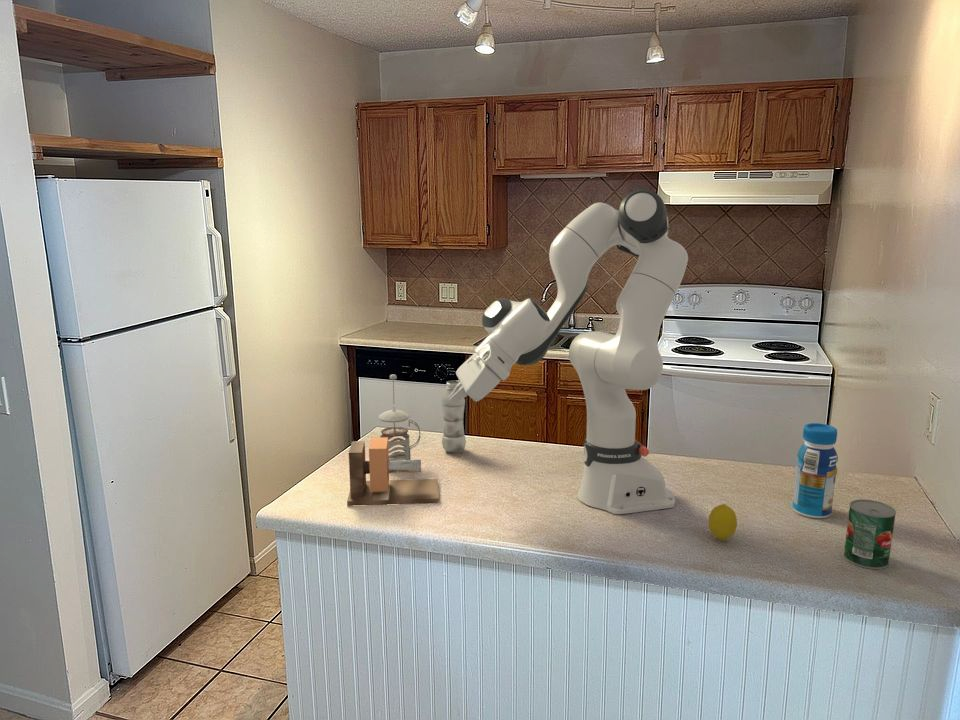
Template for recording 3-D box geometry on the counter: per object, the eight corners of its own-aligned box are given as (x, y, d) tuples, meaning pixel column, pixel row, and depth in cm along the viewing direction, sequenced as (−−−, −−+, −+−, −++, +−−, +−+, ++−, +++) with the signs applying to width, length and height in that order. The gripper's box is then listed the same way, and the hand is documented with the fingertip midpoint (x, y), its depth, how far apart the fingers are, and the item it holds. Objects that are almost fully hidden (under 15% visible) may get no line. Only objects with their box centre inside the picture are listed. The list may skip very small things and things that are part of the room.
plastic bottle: (463, 456, 196) (462, 385, 192) (439, 454, 198) (438, 384, 193) (468, 448, 203) (467, 380, 198) (445, 446, 204) (444, 378, 200)
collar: (389, 478, 174) (388, 437, 172) (387, 491, 166) (386, 448, 164) (372, 478, 174) (371, 437, 171) (370, 491, 166) (368, 449, 164)
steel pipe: (421, 469, 172) (420, 457, 171) (421, 474, 169) (420, 462, 168) (358, 471, 170) (357, 459, 170) (356, 476, 167) (356, 463, 167)
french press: (377, 460, 193) (374, 370, 188) (420, 458, 195) (418, 369, 189) (376, 473, 184) (373, 379, 178) (421, 471, 185) (419, 378, 180)
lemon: (720, 548, 144) (723, 511, 142) (701, 537, 149) (704, 501, 147) (741, 543, 146) (744, 507, 145) (722, 532, 151) (725, 497, 150)
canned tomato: (840, 547, 145) (846, 497, 142) (883, 553, 142) (890, 501, 140) (847, 566, 137) (854, 513, 135) (893, 572, 135) (901, 518, 133)
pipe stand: (437, 483, 177) (437, 436, 175) (438, 503, 166) (437, 453, 163) (352, 485, 176) (350, 438, 173) (347, 506, 164) (345, 455, 162)
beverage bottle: (784, 504, 165) (792, 421, 161) (818, 503, 166) (828, 421, 161) (803, 520, 157) (812, 433, 152) (840, 519, 158) (850, 432, 153)
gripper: (476, 340, 173) (436, 381, 173) (490, 358, 153) (445, 404, 154) (494, 358, 174) (455, 398, 175) (511, 377, 155) (466, 423, 155)
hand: (450, 401), depth 164 cm, fingers closed
